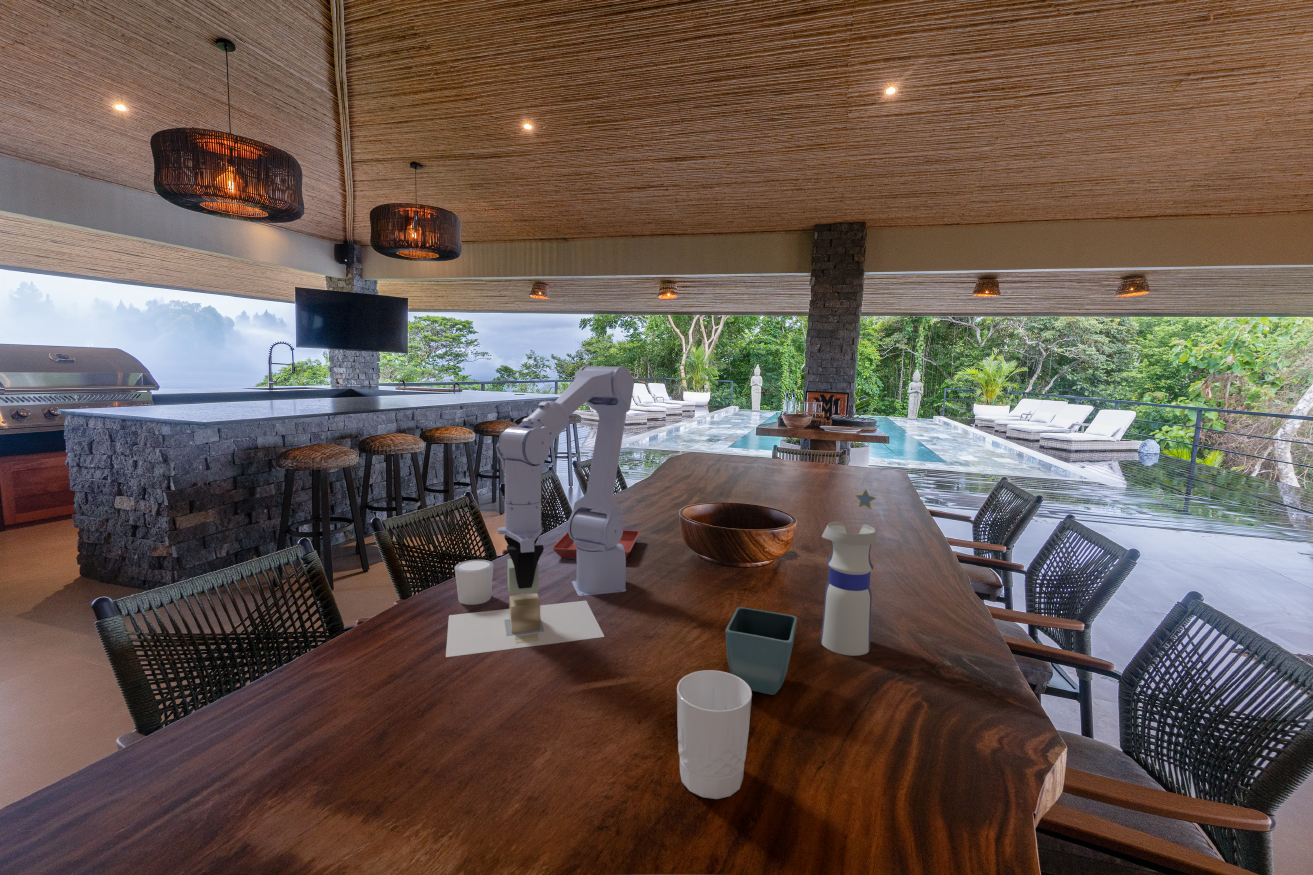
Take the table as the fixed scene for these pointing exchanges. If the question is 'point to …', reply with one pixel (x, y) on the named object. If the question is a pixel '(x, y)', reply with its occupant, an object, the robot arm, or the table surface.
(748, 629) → the flower pot
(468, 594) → the white tumbler
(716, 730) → the white cup
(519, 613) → the maple block
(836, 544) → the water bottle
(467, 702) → the table surface
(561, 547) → the plant saucer
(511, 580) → the sage block
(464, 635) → the blueprint baseplate
